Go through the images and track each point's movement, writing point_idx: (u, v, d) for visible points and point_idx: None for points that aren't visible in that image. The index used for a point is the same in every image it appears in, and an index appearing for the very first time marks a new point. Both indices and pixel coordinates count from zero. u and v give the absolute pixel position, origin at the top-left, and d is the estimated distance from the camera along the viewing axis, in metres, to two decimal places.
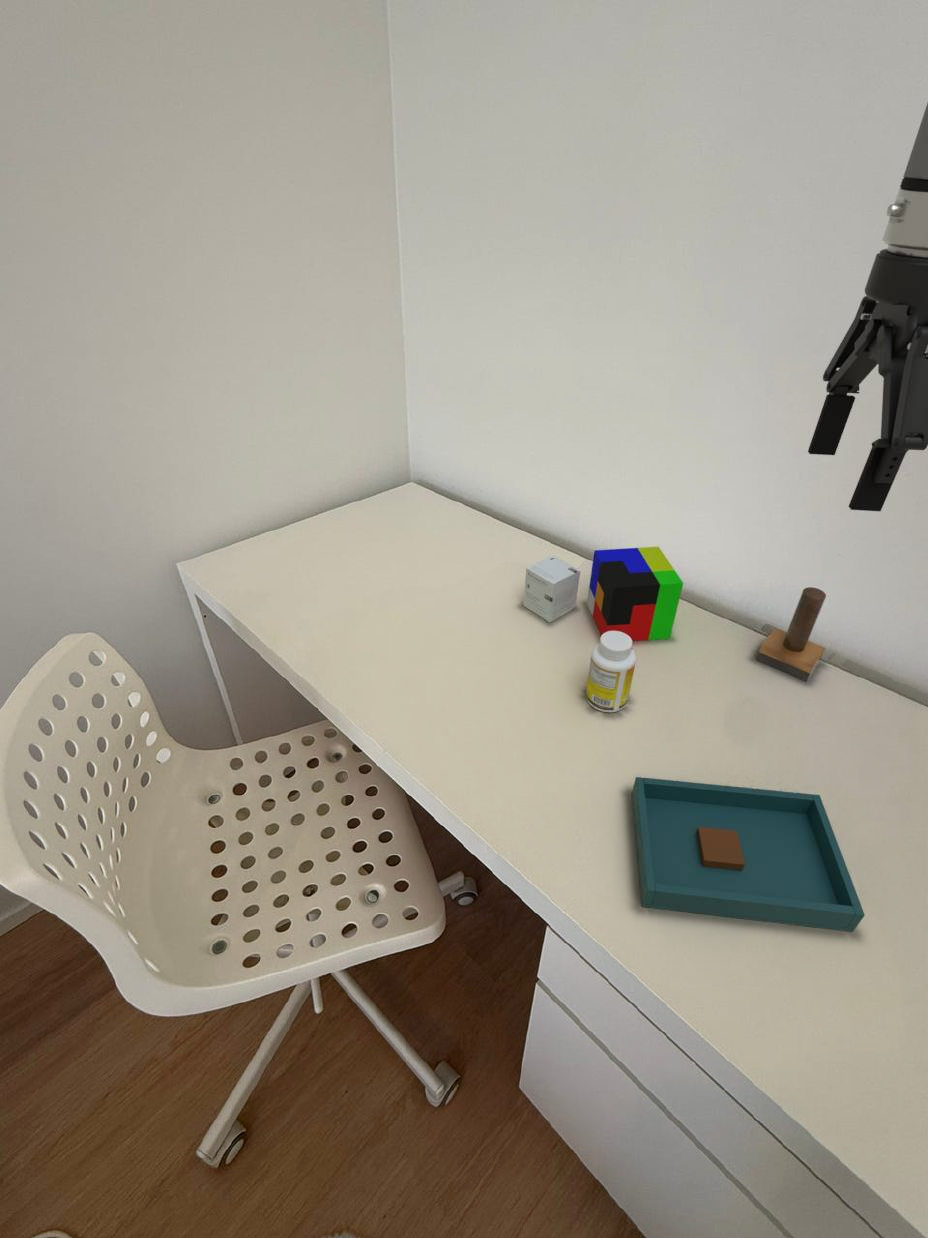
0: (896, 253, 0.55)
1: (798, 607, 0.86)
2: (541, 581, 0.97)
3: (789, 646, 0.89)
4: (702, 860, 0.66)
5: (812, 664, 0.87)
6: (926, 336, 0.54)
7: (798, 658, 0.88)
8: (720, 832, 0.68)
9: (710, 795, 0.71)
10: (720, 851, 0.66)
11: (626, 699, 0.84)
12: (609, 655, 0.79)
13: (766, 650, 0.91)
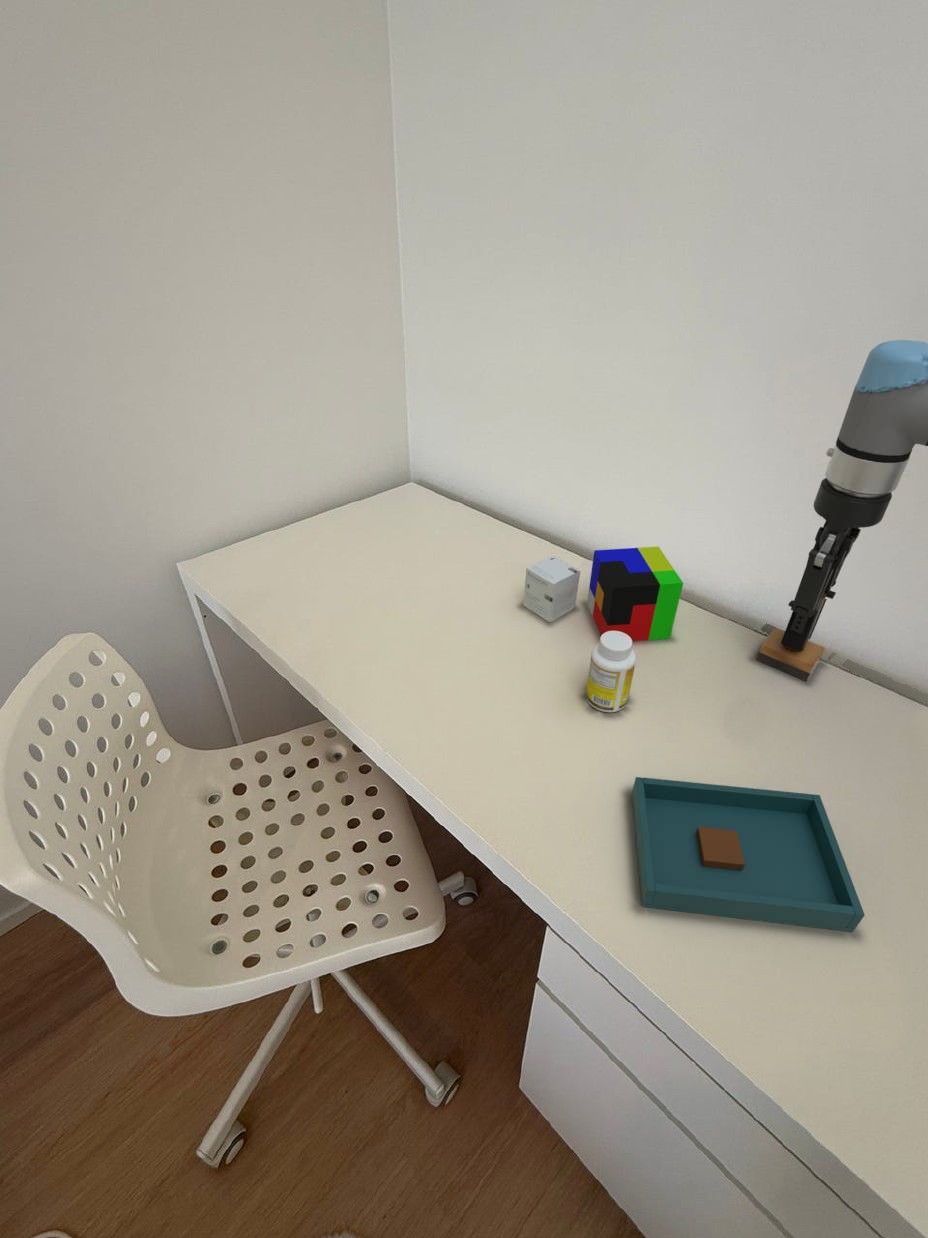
0: (828, 481, 0.77)
1: None
2: (541, 581, 0.97)
3: None
4: (702, 860, 0.66)
5: (812, 664, 0.87)
6: (812, 558, 0.77)
7: (798, 658, 0.88)
8: (720, 832, 0.68)
9: (710, 795, 0.71)
10: (720, 851, 0.66)
11: (626, 699, 0.84)
12: (609, 655, 0.79)
13: (766, 650, 0.91)
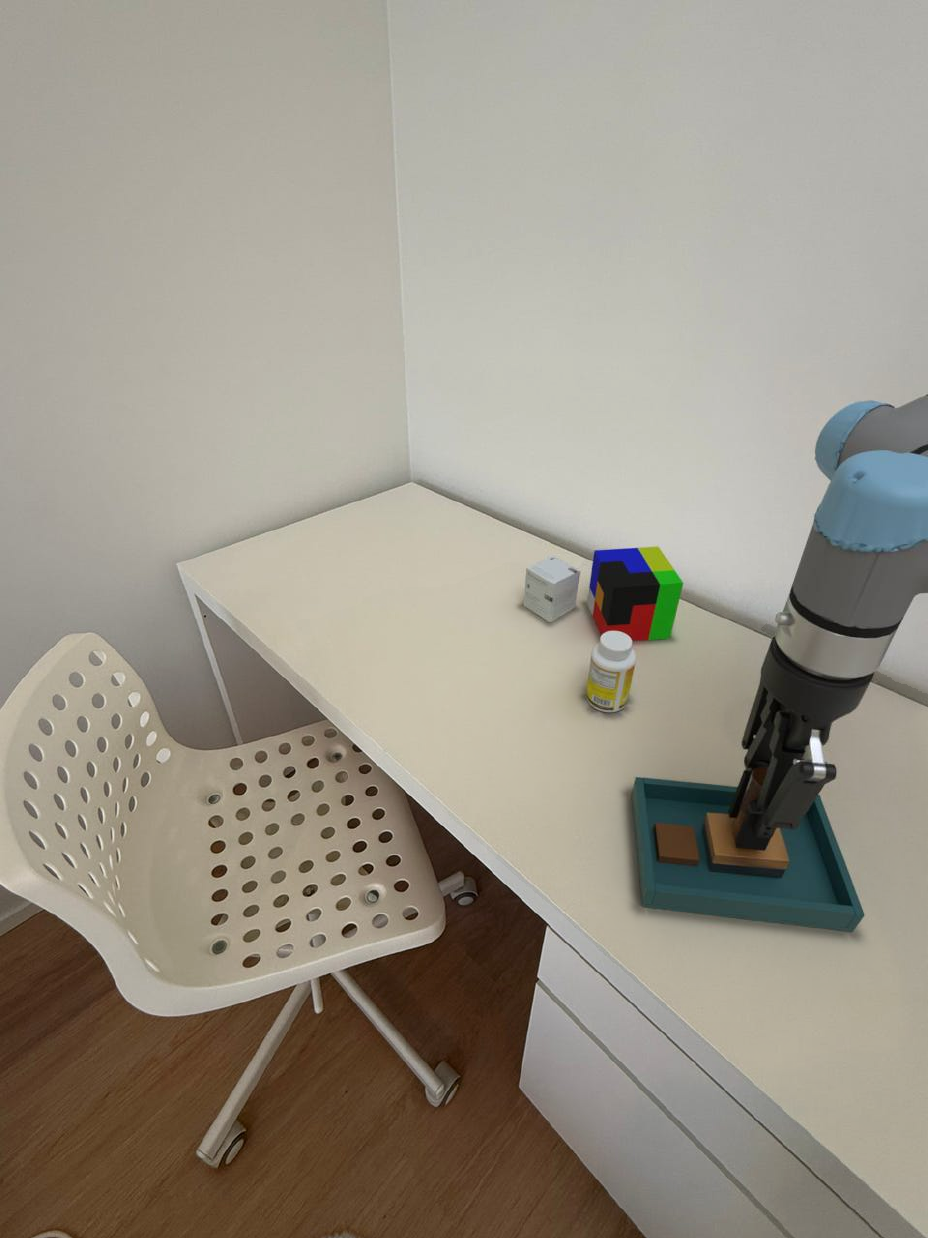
0: (787, 658, 0.50)
1: None
2: (541, 581, 0.97)
3: None
4: (658, 856, 0.66)
5: (786, 859, 0.63)
6: (807, 777, 0.50)
7: (767, 856, 0.63)
8: (676, 828, 0.68)
9: (710, 795, 0.71)
10: (676, 847, 0.67)
11: (626, 699, 0.84)
12: (609, 655, 0.79)
13: (722, 859, 0.64)
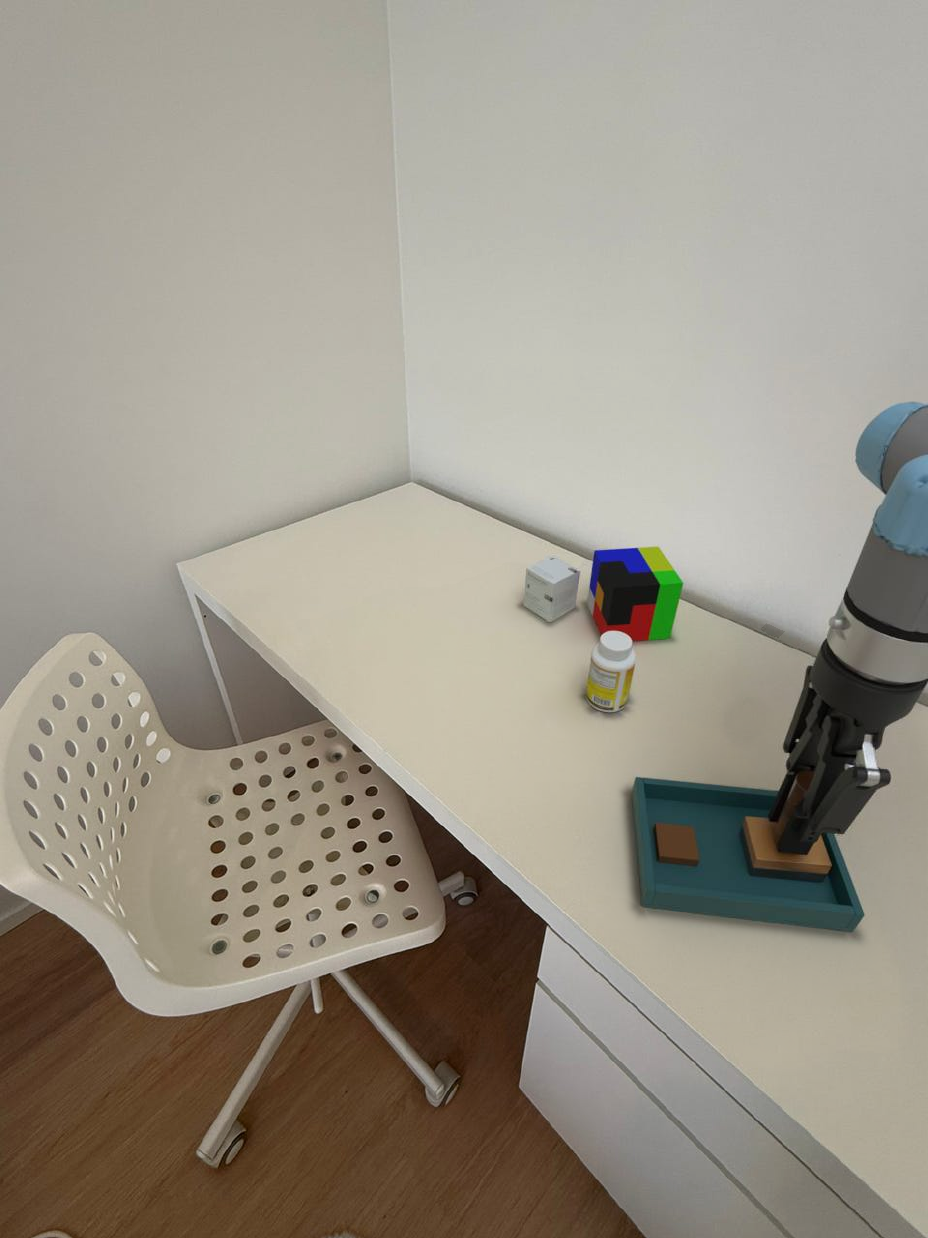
0: (840, 662, 0.50)
1: None
2: (541, 581, 0.97)
3: None
4: (658, 856, 0.66)
5: (829, 864, 0.63)
6: (860, 782, 0.50)
7: (809, 861, 0.63)
8: (676, 828, 0.68)
9: (710, 795, 0.71)
10: (676, 847, 0.67)
11: (626, 699, 0.84)
12: (609, 655, 0.79)
13: (763, 864, 0.64)
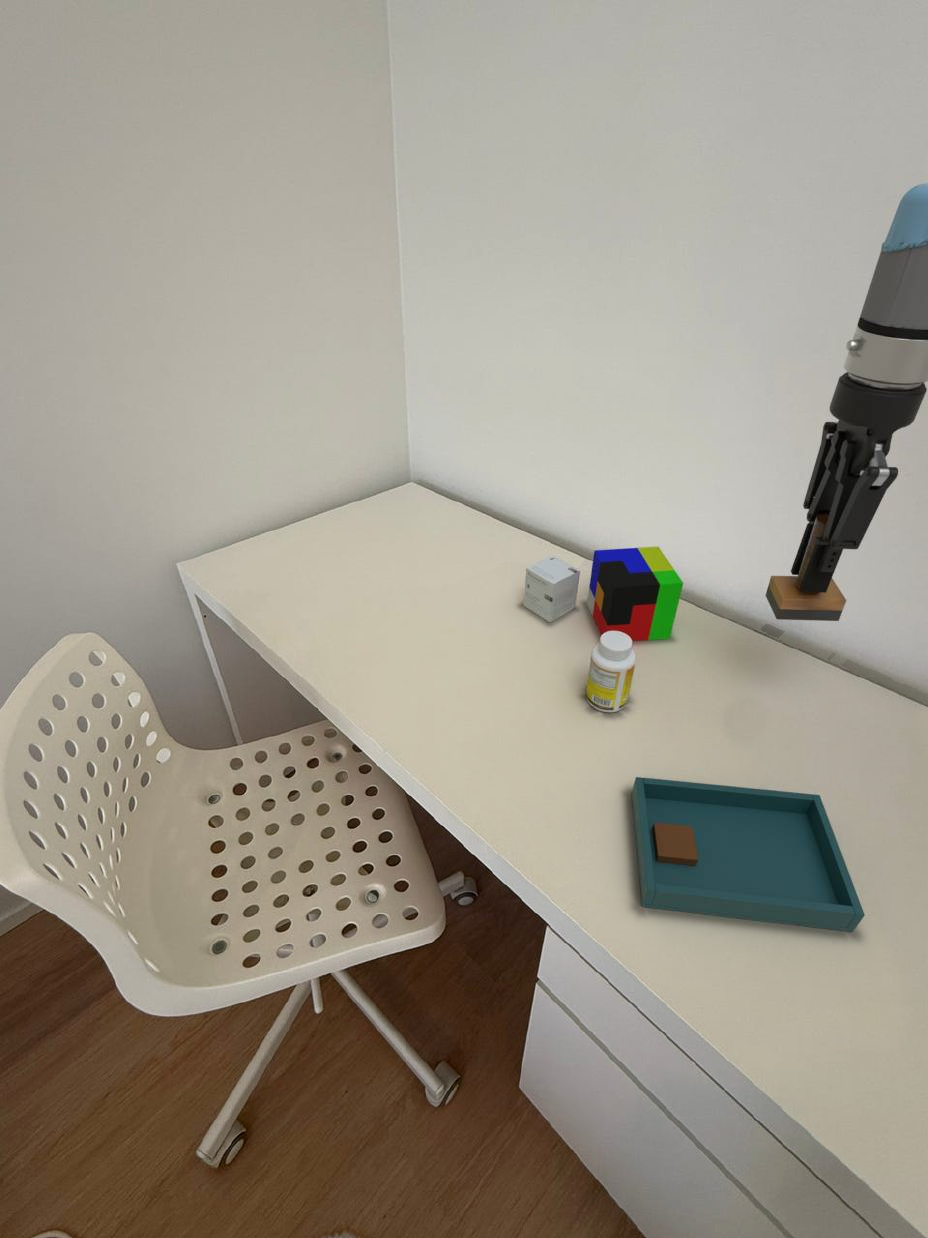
0: (856, 381, 0.61)
1: None
2: (541, 581, 0.97)
3: None
4: (656, 855, 0.66)
5: (843, 599, 0.74)
6: (873, 478, 0.61)
7: (827, 598, 0.75)
8: (675, 828, 0.68)
9: (710, 795, 0.71)
10: (674, 846, 0.67)
11: (626, 699, 0.84)
12: (609, 655, 0.79)
13: (788, 604, 0.75)
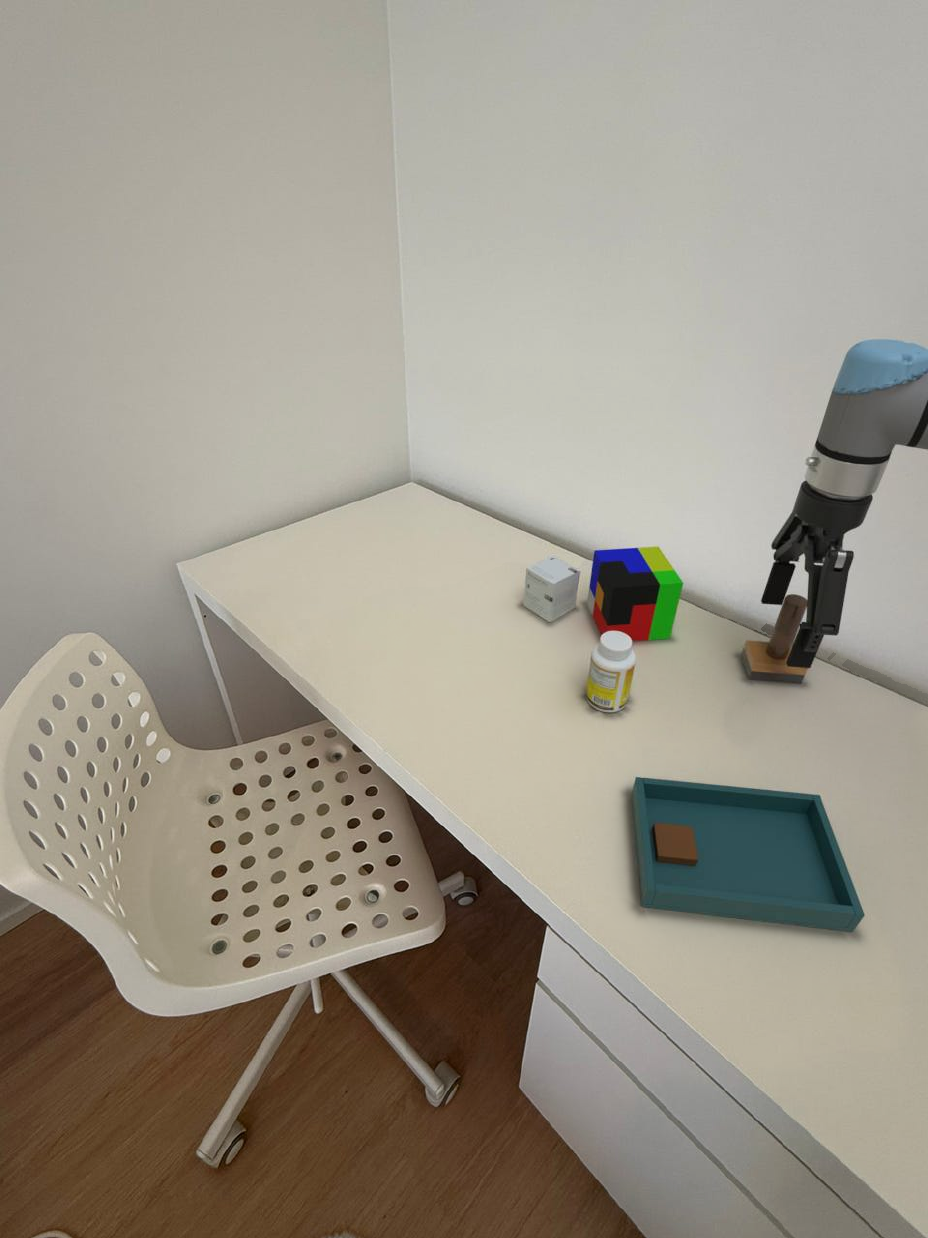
0: (813, 490, 0.74)
1: (784, 618, 0.85)
2: (541, 581, 0.97)
3: (778, 656, 0.88)
4: (656, 855, 0.66)
5: None
6: (834, 557, 0.72)
7: None
8: (675, 828, 0.68)
9: (710, 795, 0.71)
10: (674, 846, 0.67)
11: (626, 699, 0.84)
12: (609, 655, 0.79)
13: (759, 667, 0.88)
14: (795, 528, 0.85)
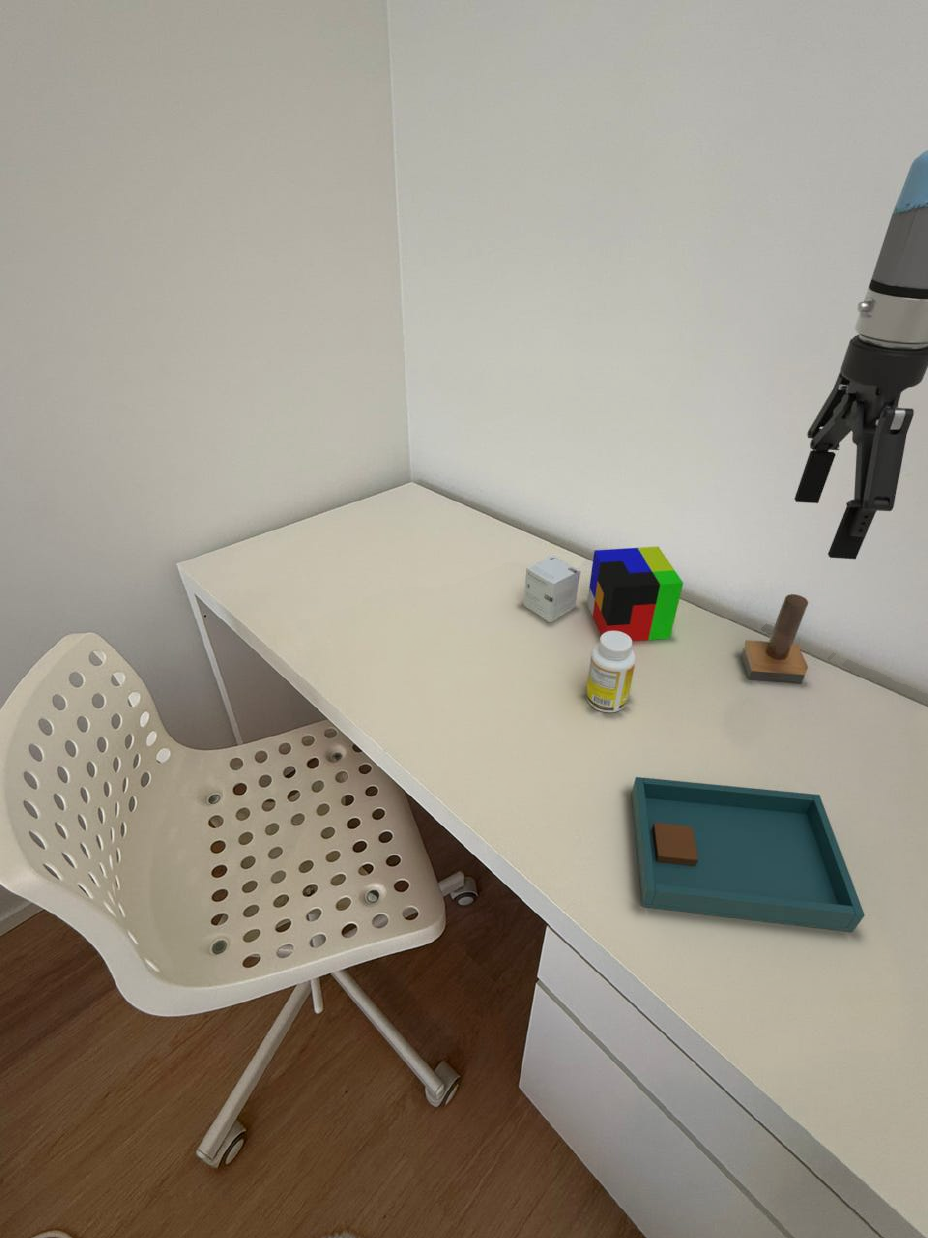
0: (866, 342, 0.64)
1: (784, 618, 0.85)
2: (541, 581, 0.97)
3: (778, 656, 0.88)
4: (656, 855, 0.66)
5: (806, 666, 0.87)
6: (891, 416, 0.62)
7: (792, 664, 0.87)
8: (675, 828, 0.68)
9: (710, 795, 0.71)
10: (674, 846, 0.67)
11: (626, 699, 0.84)
12: (609, 655, 0.79)
13: (759, 667, 0.88)
14: (837, 407, 0.75)
